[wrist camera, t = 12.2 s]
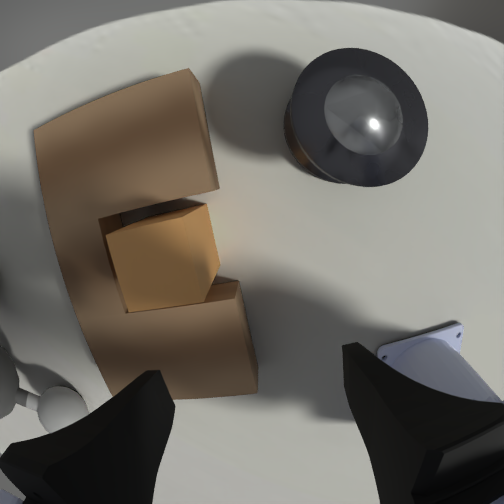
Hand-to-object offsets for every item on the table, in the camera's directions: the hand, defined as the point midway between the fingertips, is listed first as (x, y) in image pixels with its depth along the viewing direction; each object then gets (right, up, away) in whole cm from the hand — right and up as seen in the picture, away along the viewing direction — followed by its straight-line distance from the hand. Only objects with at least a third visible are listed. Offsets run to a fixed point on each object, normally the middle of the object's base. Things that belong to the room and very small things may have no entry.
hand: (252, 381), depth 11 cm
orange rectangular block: (-4, +6, +8) cm, 11 cm away
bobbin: (+5, +13, +6) cm, 15 cm away
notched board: (-7, +5, +9) cm, 12 cm away
